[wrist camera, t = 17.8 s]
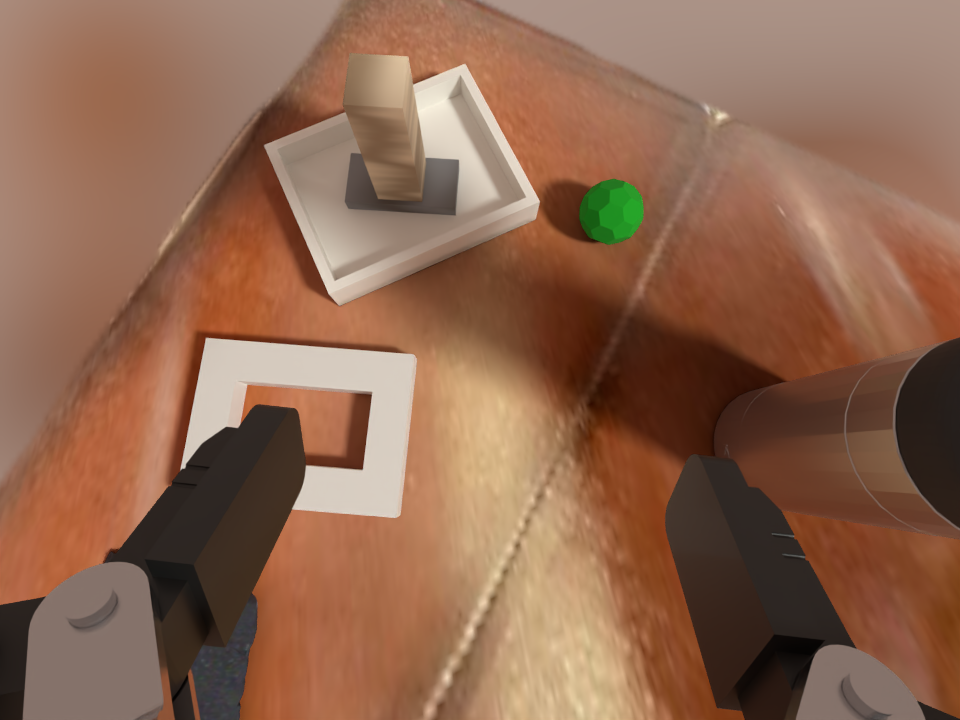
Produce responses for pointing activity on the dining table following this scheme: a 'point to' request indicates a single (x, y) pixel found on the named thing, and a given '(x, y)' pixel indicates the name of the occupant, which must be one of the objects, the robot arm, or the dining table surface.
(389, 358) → the slot plate
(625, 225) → the polyhedron
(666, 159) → the dining table surface
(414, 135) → the wooden post on base
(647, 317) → the dining table surface
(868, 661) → the robot arm
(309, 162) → the tray
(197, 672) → the dark slate chunk
